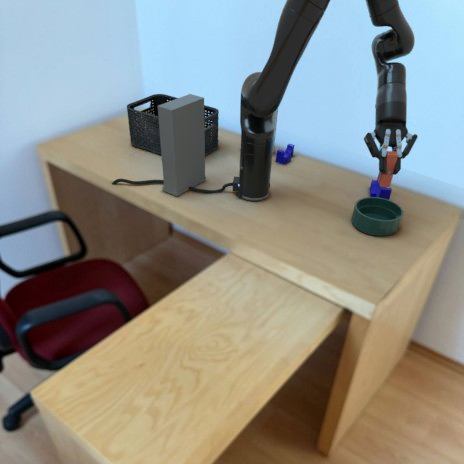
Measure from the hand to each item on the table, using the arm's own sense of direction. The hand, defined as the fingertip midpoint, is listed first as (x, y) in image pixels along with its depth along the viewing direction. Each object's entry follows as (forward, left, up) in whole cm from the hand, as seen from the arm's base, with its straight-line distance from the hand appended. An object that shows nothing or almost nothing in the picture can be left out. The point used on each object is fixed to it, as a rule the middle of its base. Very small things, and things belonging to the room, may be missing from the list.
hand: (389, 173), depth 112 cm
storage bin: (-62, +50, -16) cm, 81 cm away
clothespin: (0, +2, -4) cm, 5 cm away
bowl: (0, +1, -16) cm, 16 cm away
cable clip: (+5, +17, -16) cm, 24 cm away
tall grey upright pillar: (-55, +20, -16) cm, 61 cm away
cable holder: (-22, +42, -16) cm, 50 cm away
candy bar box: (-32, +48, -16) cm, 60 cm away
